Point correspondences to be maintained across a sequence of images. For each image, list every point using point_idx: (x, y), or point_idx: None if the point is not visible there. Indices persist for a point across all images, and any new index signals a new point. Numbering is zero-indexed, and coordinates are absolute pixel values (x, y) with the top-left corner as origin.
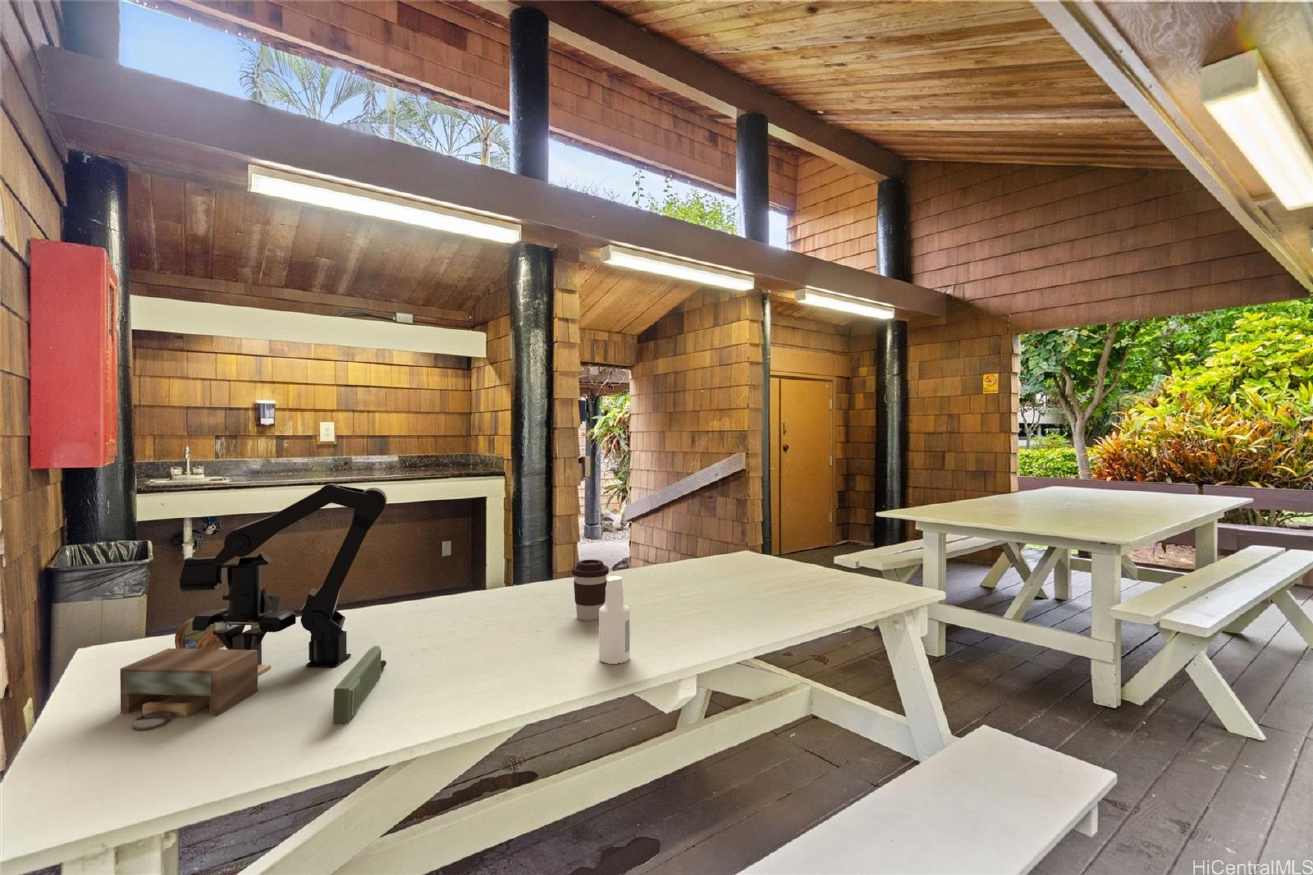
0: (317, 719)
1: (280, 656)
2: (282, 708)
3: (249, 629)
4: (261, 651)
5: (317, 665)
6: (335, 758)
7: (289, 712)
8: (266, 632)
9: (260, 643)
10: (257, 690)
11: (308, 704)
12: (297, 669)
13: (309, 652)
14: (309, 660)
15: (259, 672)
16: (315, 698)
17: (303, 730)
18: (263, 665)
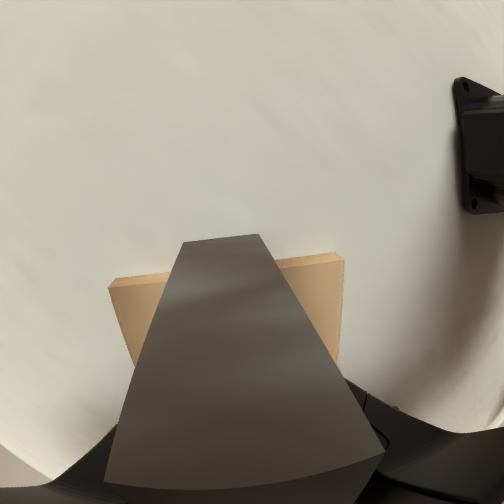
0: (495, 399)
1: (243, 63)
2: (459, 412)
3: (118, 493)
4: (280, 271)
5: (493, 211)
6: (499, 422)
7: (469, 411)
8: (473, 437)
9: (373, 400)
10: (396, 408)
11: (489, 384)
12: (444, 235)
13: (497, 177)
14: (468, 173)
15: (337, 337)
16: (498, 365)
17: (483, 420)
18: (306, 274)
